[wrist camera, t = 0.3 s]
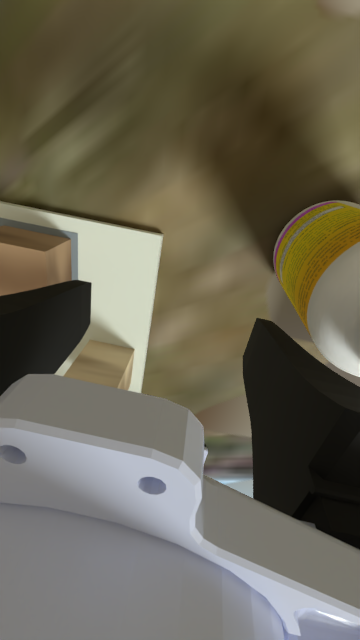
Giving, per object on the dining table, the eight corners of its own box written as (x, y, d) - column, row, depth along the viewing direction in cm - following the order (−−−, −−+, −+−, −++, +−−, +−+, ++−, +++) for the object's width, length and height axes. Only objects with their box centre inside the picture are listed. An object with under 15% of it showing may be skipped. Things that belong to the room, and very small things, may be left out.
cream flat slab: (140, 396, 28) (139, 401, 27) (23, 371, 28) (19, 375, 27) (163, 234, 20) (161, 236, 19) (0, 200, 20) (-7, 201, 20)
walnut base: (72, 300, 23) (49, 321, 20) (12, 288, 23) (-20, 306, 20) (70, 239, 20) (45, 251, 17) (3, 225, 20) (-34, 235, 17)
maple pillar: (130, 383, 26) (113, 426, 22) (89, 374, 26) (64, 415, 22) (134, 349, 24) (117, 388, 20) (89, 339, 24) (62, 377, 20)
